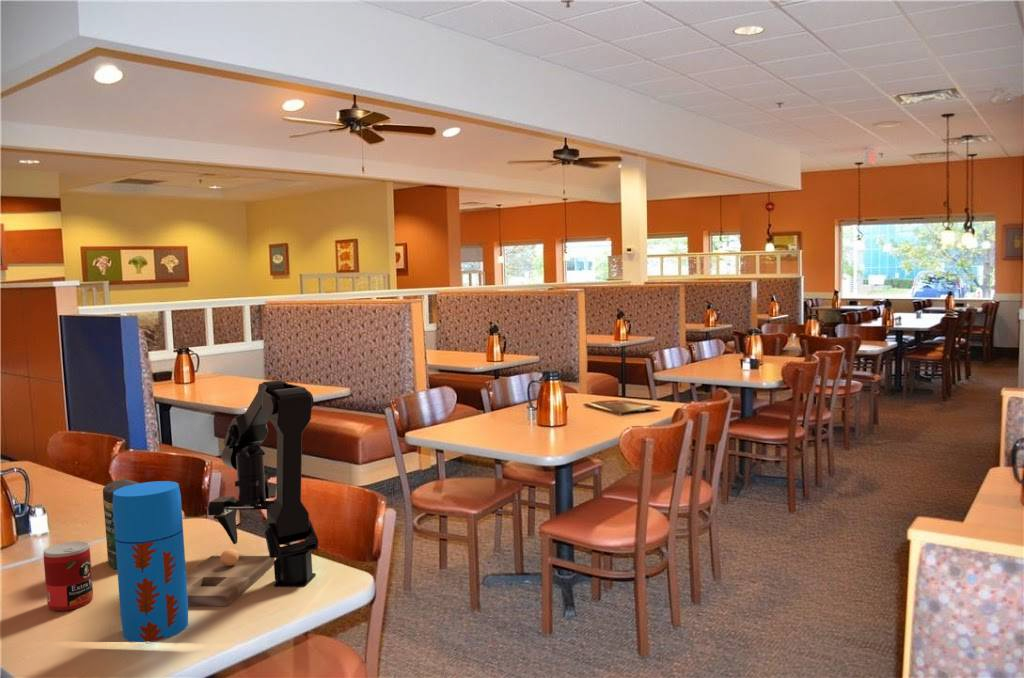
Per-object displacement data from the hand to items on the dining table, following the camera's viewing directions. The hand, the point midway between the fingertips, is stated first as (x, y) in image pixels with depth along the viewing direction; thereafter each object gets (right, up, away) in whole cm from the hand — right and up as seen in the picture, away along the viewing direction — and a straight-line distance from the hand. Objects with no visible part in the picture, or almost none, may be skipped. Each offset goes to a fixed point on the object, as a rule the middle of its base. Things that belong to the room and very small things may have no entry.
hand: (255, 543), depth 179 cm
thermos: (-5, -6, -38) cm, 38 cm away
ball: (-1, 0, -12) cm, 12 cm away
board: (-2, -4, -17) cm, 17 cm away
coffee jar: (-26, -4, -3) cm, 27 cm away
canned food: (-28, -6, -24) cm, 37 cm away
